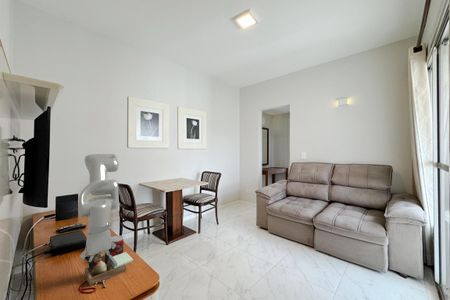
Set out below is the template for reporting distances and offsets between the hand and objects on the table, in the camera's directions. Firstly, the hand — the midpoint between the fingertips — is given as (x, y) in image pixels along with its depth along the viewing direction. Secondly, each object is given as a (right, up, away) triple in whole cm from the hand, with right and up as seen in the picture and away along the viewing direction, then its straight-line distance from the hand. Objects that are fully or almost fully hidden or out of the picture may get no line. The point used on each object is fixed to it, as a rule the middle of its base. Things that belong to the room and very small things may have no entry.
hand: (98, 265), depth 92 cm
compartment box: (+2, -5, +2) cm, 6 cm away
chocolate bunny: (0, -3, 0) cm, 3 cm away
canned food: (-1, -5, +16) cm, 17 cm away
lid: (+7, -2, +7) cm, 10 cm away
